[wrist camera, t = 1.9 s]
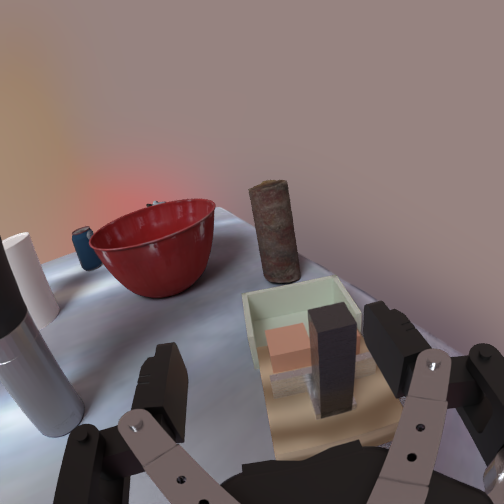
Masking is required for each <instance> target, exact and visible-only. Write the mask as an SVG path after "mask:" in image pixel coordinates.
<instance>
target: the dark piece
mask: <svg viewBox="0 0 504 504" xmlns="http://www.w3.org/2000/svg"><path fill="white" fill-rule="evenodd" d="M307 312H308V324H309V337H310V350H311V365H312V366H311V367H307V368H302V369H298V370H293V371H288V372H283V373H278V374H273V375H270V381H271V386H272V391H273V396H274V399H276V398H281V397H286V396H291V395H296V394H300V393H305V392H308V395H309V399H310V402H311V405H312V408H313V412H314V415H315V418H316V420H318V419H322V418H326V417H330V416H334V415H338V414H341V413H345V412H349V411H352V410H355V409H356V407H357V403H356V401H355V398H354V396H353V392H354V380H356V379H359V378H363V377H366V376H370V375H373V374H375V371H376V362H375V360H374V359H373V357H372V355H371V354H370V352H366V353H362V354H359V355H356V343H357V322H356V321H355V319H354V317H353V316H352V314H351V312H350V311H349V309H348V308H347V306H346V304H345V303H344V302H340V303H335V304H331V305H326V306H322V307H317V308H313V309H308V310H307Z"/></svg>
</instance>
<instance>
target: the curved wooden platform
mask: <svg viewBox="0 0 504 504" xmlns="http://www.w3.org/2000/svg"><path fill="white" fill-rule="evenodd" d="M357 330H358V328H357ZM358 332H359V334H360V335H361V333H360V331H359V330H358ZM309 339H310V337H309ZM256 349H257V355H258V361H259V367H260V373H261V378H262V384H263V390H264V396H265V402H266V407H267V413H268V419H269V424H270V430H271V436H272V441H273V447H274V452H275V457H276V460H288V461H300V460H305V459H307V458H310V457H312V456H314V455H316V454H318V453H320V452H322V451H324V450H326V449H328V448H330V447H333V446H337V445H341V444H344V443H348V442H351V441H355V440H358V439H359V440H360V443H361V445H362V446H375V447H376V446H379V445H382V444H384V443H387V442H390V441H393V438H394V435H395V432H396V429H397V426H398V423H399V420H400V417H401V414H402V410H403V406H402V405H401V403H400V401H399V399H396V398H395V396H394V394H393V392H392V391H391V389H390V387H389V385H388V383H387V382H386V380H385V378H384V376H383V375H382V373H381V371H380V369H379V367H378V366H377V364H376V371H375V374H373V375H370V376H366V377H363V378H359V379H356V380H354V392H353V396H354V398H355V401H356V403H357V407H356V409H355V410H352V411H349V412H345V413H341V414H338V415H334V416H330V417H326V418H322V419H318V420H316V418H315V415H314V412H313V408H312V405H311V402H310V399H309V395H308V392H305V393H300V394H296V395H291V396H286V397H281V398H276V399H274V396H273V391H272V386H271V381H270V375H273V370H272V365H271V360H270V356H269V351H268V346H262V347H257V348H256ZM366 352H369V350H368V348H367V347H366V344H365V341H364V338H363V336H362V335H361V338H360V354H362V353H366ZM357 355H359V354H357ZM308 367H311V366H308ZM303 368H307V367H303ZM299 369H302V368H299ZM294 370H298V369H294ZM289 371H293V370H289ZM284 372H288V371H284ZM280 373H283V372H280ZM275 374H278V373H275Z"/></svg>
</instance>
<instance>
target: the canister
mask: <svg viewBox="0 0 504 504" xmlns="http://www.w3.org/2000/svg"><path fill="white" fill-rule="evenodd" d="M2 243H3V247H4V250H5V253H6V256H7V259H8V262H9V264H10V267H11V270H12V272H13V274H14V277H15V279H16V282H17V285H18V287H19V290H20V293H21V296H22V298H23V300H24V302H25V304H26V306H27V309H28V311H29V313H30V315H31V317H32V319H33V321H34V323H35V325H36V326H37V328H38V330H41V329H43V328H44V327H46V326H47V325H49V324H50V323H51V322H52V321H53V320H54V319H55V318H56V317H57V315H58V313H59V306H58V304H57V302H56V300H55V297H54V295H53V293H52V291H51V288H50V286H49V284H48V282H47V279H46V277H45V274H44V272H43V269H42V267H41V264H40V262H39V260H38V257H37V254H36V252H35V249H34V246H33V243H32V241H31V238H30V235H29V233H28V232H24V233H20V234H17V235H14V236H11V237H9V238H7V239H5V240H3V241H2Z"/></svg>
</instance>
